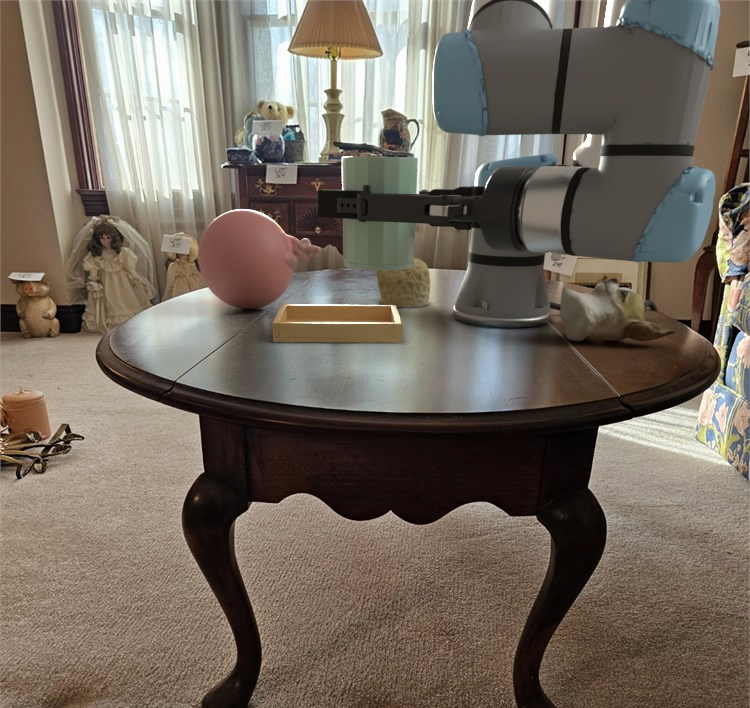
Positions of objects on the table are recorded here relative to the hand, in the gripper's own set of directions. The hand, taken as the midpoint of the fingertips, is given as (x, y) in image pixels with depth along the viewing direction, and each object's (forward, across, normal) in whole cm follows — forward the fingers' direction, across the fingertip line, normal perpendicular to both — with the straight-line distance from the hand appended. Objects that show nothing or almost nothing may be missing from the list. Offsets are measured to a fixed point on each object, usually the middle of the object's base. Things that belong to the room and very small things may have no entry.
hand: (345, 201), depth 74 cm
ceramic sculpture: (-23, +30, -18) cm, 42 cm away
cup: (-5, 0, -6) cm, 8 cm away
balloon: (+31, +17, -18) cm, 40 cm away
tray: (+10, +11, -18) cm, 24 cm away
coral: (+15, +36, -18) cm, 43 cm away
